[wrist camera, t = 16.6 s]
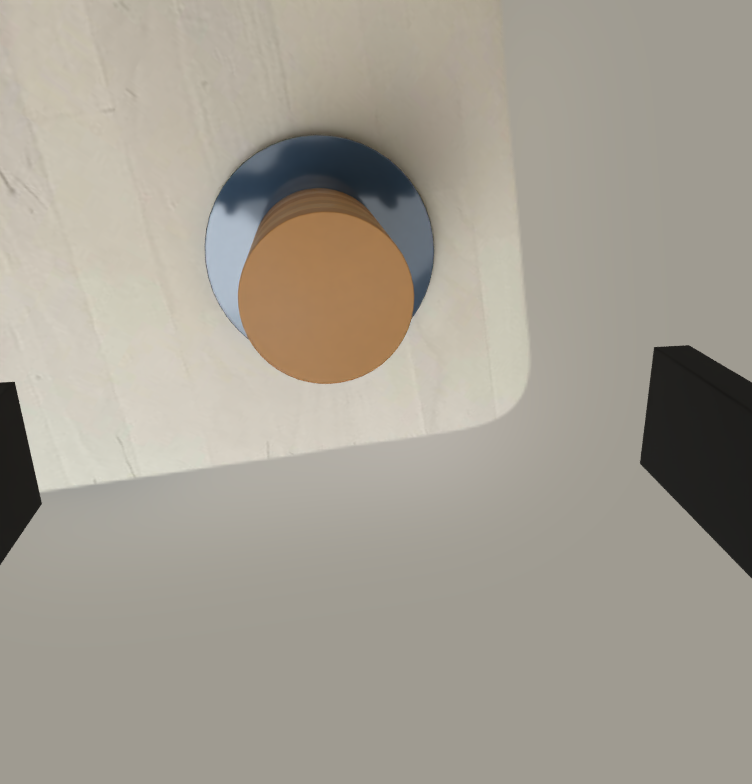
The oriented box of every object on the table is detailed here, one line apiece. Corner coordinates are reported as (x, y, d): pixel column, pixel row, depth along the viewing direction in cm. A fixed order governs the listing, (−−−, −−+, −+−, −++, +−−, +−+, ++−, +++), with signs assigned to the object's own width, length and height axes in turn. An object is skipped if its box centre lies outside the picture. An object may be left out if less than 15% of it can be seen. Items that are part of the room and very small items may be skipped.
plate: (431, 132, 37) (435, 132, 36) (429, 353, 41) (432, 359, 40) (194, 137, 36) (192, 137, 35) (218, 364, 40) (216, 370, 39)
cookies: (385, 186, 36) (414, 208, 27) (387, 318, 39) (414, 379, 30) (247, 190, 36) (229, 214, 27) (258, 324, 38) (245, 388, 29)
